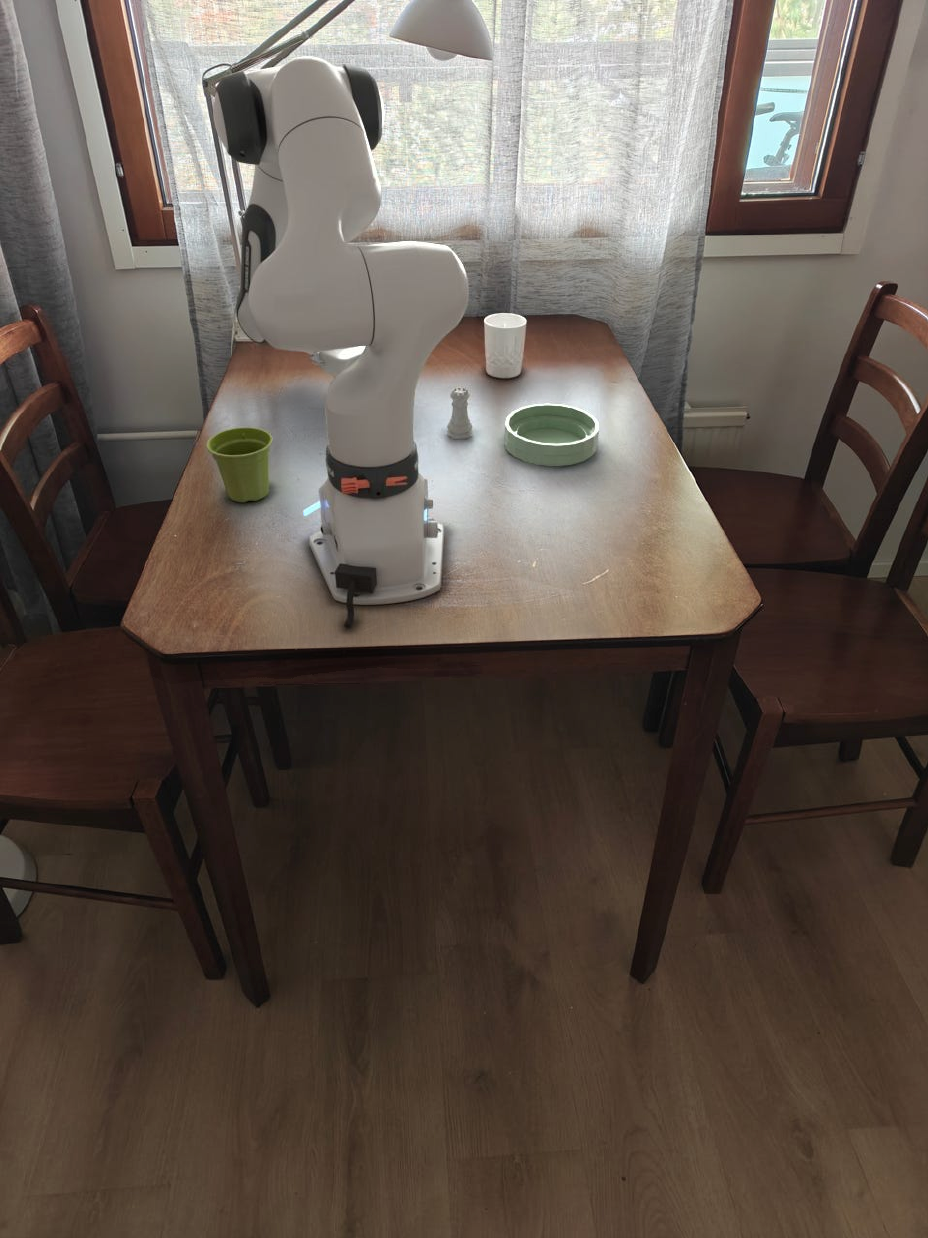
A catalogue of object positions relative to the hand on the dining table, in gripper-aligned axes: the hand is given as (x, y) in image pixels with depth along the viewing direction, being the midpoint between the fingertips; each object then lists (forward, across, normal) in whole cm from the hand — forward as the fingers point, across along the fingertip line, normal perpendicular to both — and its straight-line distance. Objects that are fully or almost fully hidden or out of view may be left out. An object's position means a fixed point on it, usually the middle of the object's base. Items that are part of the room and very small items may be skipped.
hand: (405, 361), depth 148 cm
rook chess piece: (+12, 0, +10) cm, 16 cm away
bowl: (+26, +6, +10) cm, 29 cm away
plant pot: (0, -36, +10) cm, 37 cm away
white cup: (+1, +26, +10) cm, 28 cm away
